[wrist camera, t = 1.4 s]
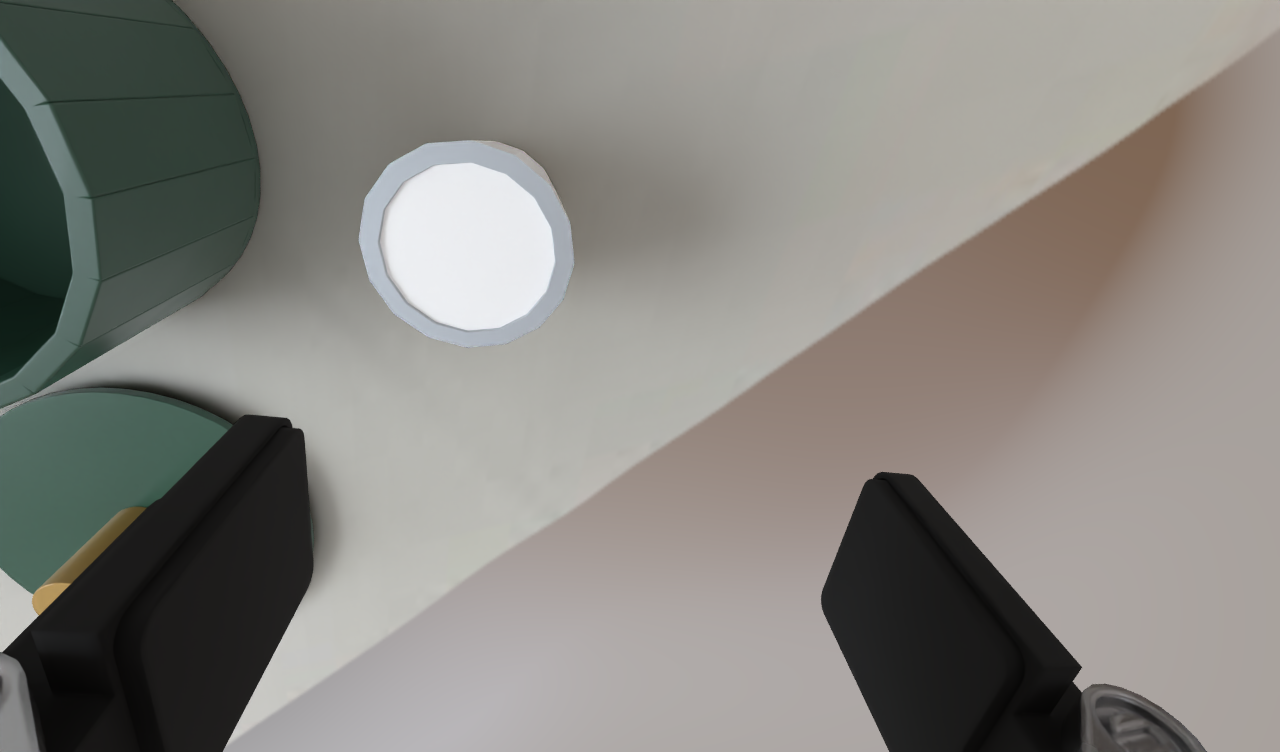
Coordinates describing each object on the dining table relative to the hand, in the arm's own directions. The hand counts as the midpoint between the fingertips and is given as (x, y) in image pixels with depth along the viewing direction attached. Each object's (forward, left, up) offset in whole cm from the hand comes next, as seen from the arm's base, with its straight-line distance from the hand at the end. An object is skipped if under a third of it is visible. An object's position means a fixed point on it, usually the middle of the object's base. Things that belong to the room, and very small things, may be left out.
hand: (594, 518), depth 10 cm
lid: (+2, -26, -18) cm, 31 cm away
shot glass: (-3, -2, -19) cm, 19 cm away
